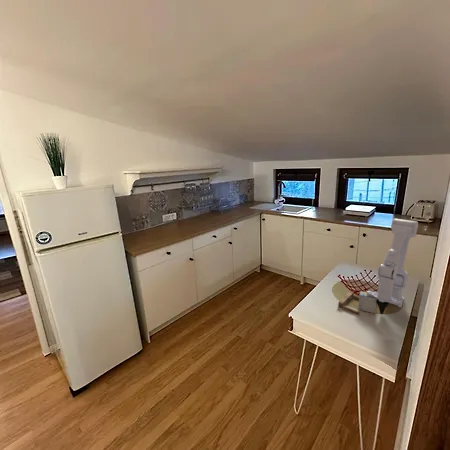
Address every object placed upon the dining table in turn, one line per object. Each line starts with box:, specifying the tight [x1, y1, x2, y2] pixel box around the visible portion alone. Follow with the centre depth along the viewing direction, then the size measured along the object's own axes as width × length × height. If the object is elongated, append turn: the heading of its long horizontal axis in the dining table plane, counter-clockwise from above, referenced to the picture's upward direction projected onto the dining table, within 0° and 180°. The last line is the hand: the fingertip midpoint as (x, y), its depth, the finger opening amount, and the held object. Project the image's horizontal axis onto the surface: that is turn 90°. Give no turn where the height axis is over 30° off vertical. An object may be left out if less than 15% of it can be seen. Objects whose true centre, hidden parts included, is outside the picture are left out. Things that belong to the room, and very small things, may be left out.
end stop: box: [337, 290, 360, 316], centre depth 133 cm, size 14×10×3 cm
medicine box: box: [357, 291, 378, 314], centre depth 128 cm, size 8×4×9 cm, turn 60°
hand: (381, 313), depth 123 cm, fingers closed
